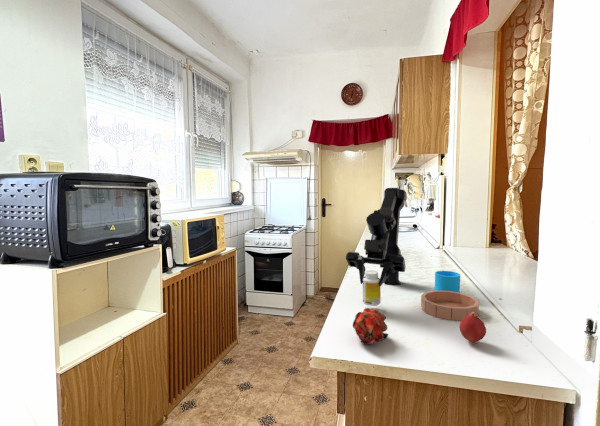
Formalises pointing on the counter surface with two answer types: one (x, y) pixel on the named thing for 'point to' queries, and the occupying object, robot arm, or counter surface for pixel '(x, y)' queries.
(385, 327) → the dragon fruit
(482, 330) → the onion
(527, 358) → the counter surface
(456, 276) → the mug
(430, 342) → the counter surface
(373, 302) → the supplement bottle
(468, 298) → the bowl
